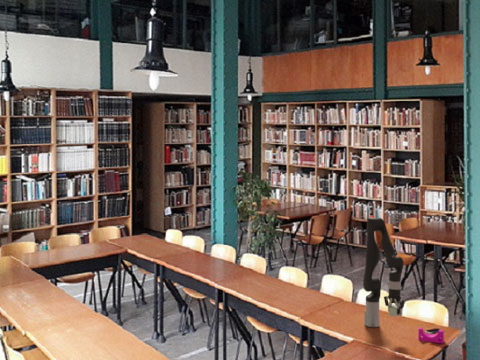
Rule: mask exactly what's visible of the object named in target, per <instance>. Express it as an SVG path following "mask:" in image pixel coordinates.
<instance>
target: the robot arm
mask: <svg viewBox="0 0 480 360" xmlns="http://www.w3.org/2000/svg"><path fill="white" fill-rule="evenodd" d="M375 232H380V234H381V241H380V246H381V249H380V246H379V245H378V244H377V243H378V242H376V240H375ZM381 250H382V252H383V253H384V257H385V261H386V265H387V267H388V268H389V269H393V270H392V271H390V272H389V273H388V295H385V296H384V297H383V300H384V304H385V306H386V307H387V308H388V309H387V312H388V313H389V308H390V307H391V306H392V305H393V304H394V305H396V306H397V308H398V309H397V316H399V315H400V314H401V310H402V309H403V308H404V307H405V303H406V299H404V298H402V297H401V295H402V294H401V293H402V292H401V290H402V284H401V275H402V271H403V267H404V265H405V264H404V259H403V258H402V257H401V256H395V254H396V253H397V252H396V249H395V247H394V245H393V243H392V242H391V239H390V236H389V232H388V229H387V225H386V223H385V220H384V219H383V218H381V217H369V218H368V219H367V221H366V250H365V267H364V273H363V274H364V276H363V282H362V283H363V290H364V291H365V292H367V293H369V292H370V293H369V294H367V295H365V310H364V326H366V327H368V328H378V327H379V328H380V299H381V293H382V292H381V291H382V282H381V280H380V278H379V277H373V274H374V271H375V270H376V267H377V265H378V264H379V262H380V256H381ZM400 302H401V303H400Z"/></svg>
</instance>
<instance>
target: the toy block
mask: <svg viewBox="0 0 480 360" xmlns="http://www.w3.org/2000/svg"><path fill="white" fill-rule="evenodd" d="M444 331H445V330H444V329H439V330H438V331H437V332H436V333H435V334H431V333H428V332H427V333H426V332H425V330H424V328H423V327H421V326H419V327H418V339H417V340H418V341H422V342H423V341H424V342H430V343H436V344H444V342H445V332H444Z"/></svg>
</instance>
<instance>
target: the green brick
mask: <svg viewBox="0 0 480 360" xmlns="http://www.w3.org/2000/svg"><path fill="white" fill-rule="evenodd" d="M397 309H398V308H397V306H396V304H392V305H391V307H390V308H389V312H388V316H389V317H395V318H396V317H397V316H398V315H397Z"/></svg>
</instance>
